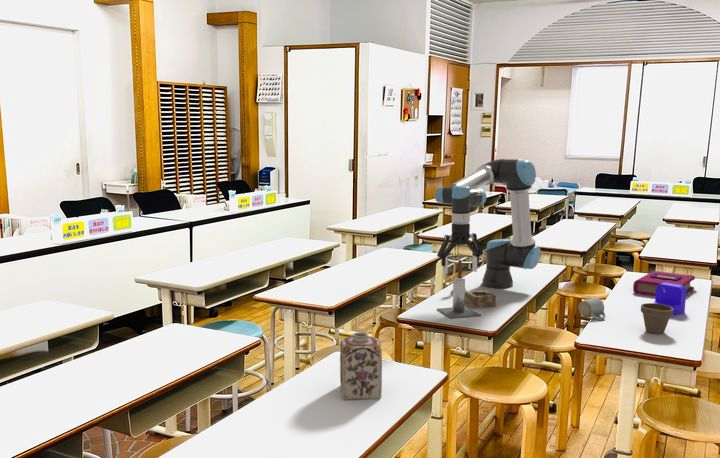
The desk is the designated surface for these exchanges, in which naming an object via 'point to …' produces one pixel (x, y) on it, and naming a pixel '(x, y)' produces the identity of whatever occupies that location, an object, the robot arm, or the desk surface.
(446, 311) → the mat
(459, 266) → the hand bell
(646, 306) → the flower pot
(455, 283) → the plug
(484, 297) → the bore block
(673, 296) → the bracket
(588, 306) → the ceramic mug
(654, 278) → the book
